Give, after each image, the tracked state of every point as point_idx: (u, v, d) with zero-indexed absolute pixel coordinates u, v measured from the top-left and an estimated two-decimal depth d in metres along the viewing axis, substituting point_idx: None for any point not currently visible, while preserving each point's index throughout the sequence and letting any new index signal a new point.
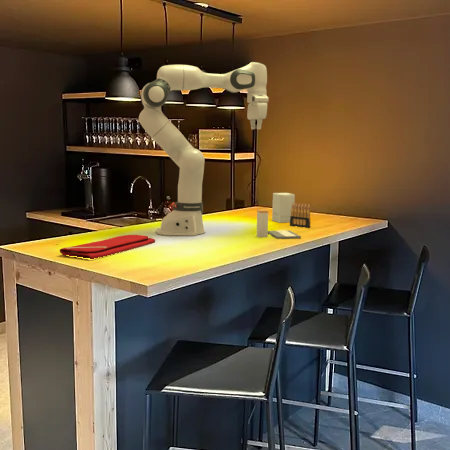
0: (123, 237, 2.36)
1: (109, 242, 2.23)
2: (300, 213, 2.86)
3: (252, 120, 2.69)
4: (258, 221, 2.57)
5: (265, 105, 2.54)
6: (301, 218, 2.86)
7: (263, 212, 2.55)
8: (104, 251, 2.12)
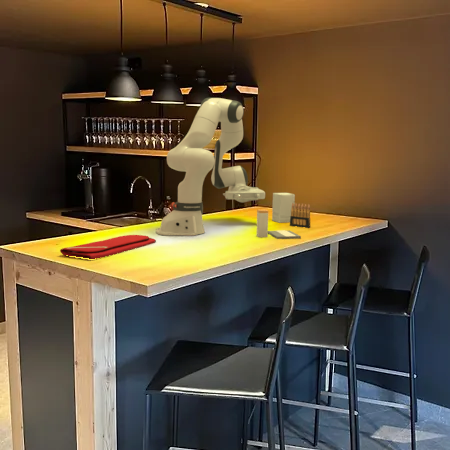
0: (124, 237, 2.36)
1: (110, 242, 2.23)
2: (300, 213, 2.86)
3: None
4: (258, 221, 2.57)
5: None
6: (301, 218, 2.86)
7: (263, 212, 2.55)
8: (105, 251, 2.12)
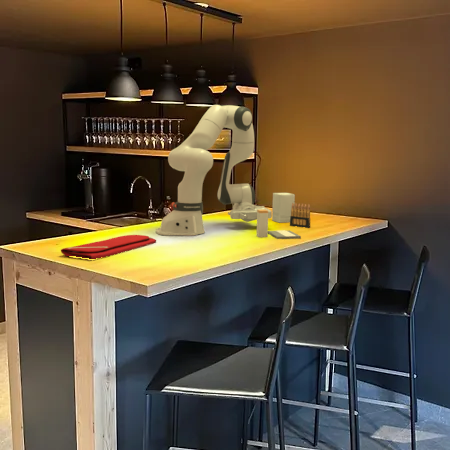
0: (124, 237, 2.36)
1: (110, 242, 2.23)
2: (300, 213, 2.86)
3: None
4: (258, 221, 2.57)
5: None
6: (301, 218, 2.86)
7: (263, 212, 2.55)
8: (105, 251, 2.11)
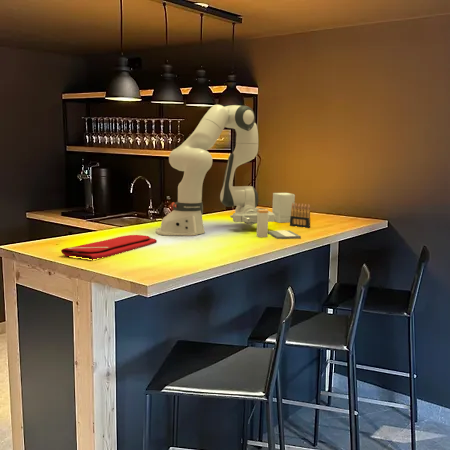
0: (124, 237, 2.35)
1: (111, 242, 2.23)
2: (300, 213, 2.86)
3: None
4: (258, 221, 2.57)
5: None
6: (301, 218, 2.86)
7: (263, 212, 2.55)
8: (106, 251, 2.11)
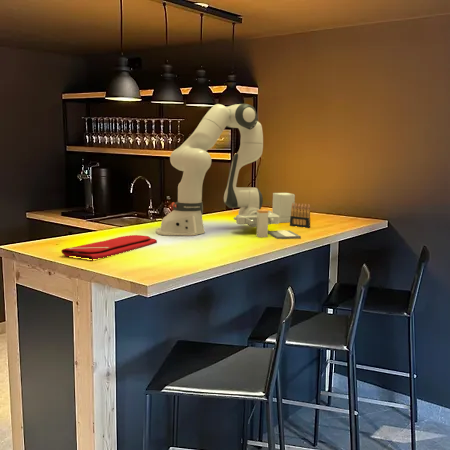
0: (125, 237, 2.35)
1: (111, 242, 2.22)
2: (300, 213, 2.86)
3: None
4: (258, 221, 2.57)
5: None
6: (301, 218, 2.86)
7: (263, 212, 2.55)
8: (106, 251, 2.11)
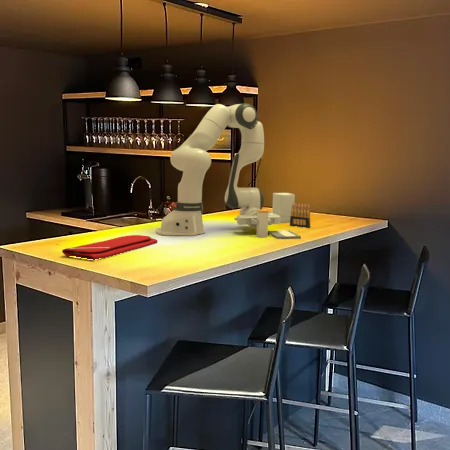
0: (125, 237, 2.35)
1: (111, 243, 2.22)
2: (300, 213, 2.86)
3: None
4: None
5: None
6: (301, 218, 2.86)
7: (263, 212, 2.55)
8: (107, 252, 2.11)
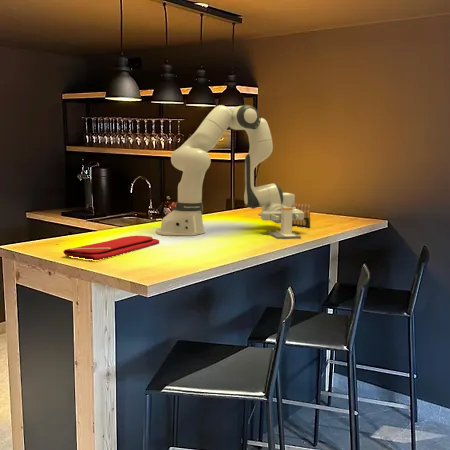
0: (127, 238, 2.34)
1: (113, 243, 2.21)
2: None
3: None
4: (282, 218, 2.59)
5: None
6: None
7: (287, 209, 2.57)
8: (108, 252, 2.10)
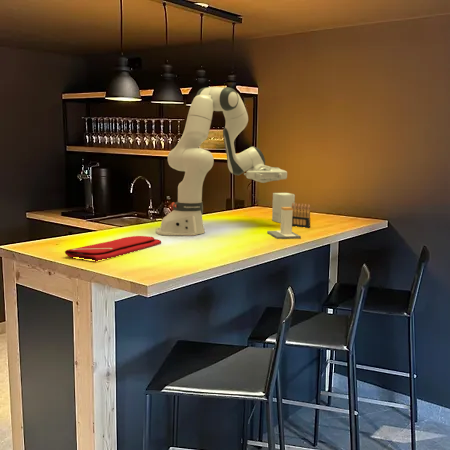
0: (129, 238, 2.34)
1: (115, 243, 2.21)
2: (300, 213, 2.86)
3: None
4: (282, 218, 2.59)
5: None
6: (301, 218, 2.86)
7: (287, 209, 2.57)
8: (110, 253, 2.09)
